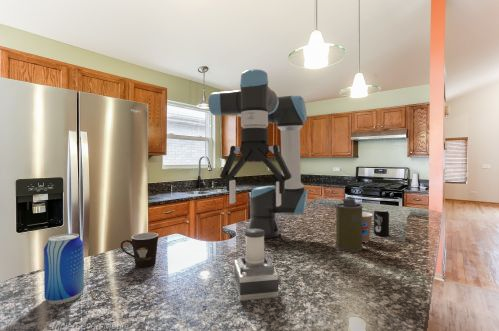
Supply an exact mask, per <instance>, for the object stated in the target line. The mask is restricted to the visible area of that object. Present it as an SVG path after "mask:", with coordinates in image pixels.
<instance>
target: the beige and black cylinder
mask: <svg viewBox="0 0 499 331" xmlns="http://www.w3.org/2000/svg"><path fill="white" fill-rule="evenodd" d="M244 236H245V256H246V258H245V262H246V267H256V266H264V255H265V238H264V230H262V229H248V228H247V229H246V230H245V231H244Z"/></svg>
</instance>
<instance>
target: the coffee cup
mask: <svg viewBox="0 0 499 331" xmlns="http://www.w3.org/2000/svg"><path fill="white" fill-rule="evenodd" d="M373 217H374V213H370V212H367V211H362V242H365V243H368V242H369V240H370V237H371V236H370V234H371V227H372V219H373Z"/></svg>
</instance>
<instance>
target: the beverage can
mask: <svg viewBox="0 0 499 331" xmlns="http://www.w3.org/2000/svg"><path fill="white" fill-rule="evenodd" d="M373 234H374V235H375V236H377V235H378V236H377V237H383V236H384V237H388V236H389V235H390V213H389V210H388V209H385V208H375V209H374V211H373Z"/></svg>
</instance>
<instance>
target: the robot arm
mask: <svg viewBox="0 0 499 331" xmlns="http://www.w3.org/2000/svg"><path fill="white" fill-rule="evenodd" d="M268 77H269V76H268V73H267V72H266V71H265V70H262V69H256V68H255V69H248V70H245V71H243V72H242V73H241V74H240V84H239V87H240V90H230V91H229V90H228V91H218V92H212V93H210V95H209V97H208V101H207V103H208V108H209V109H208V110H209V111H210V113H211V115H213V116H219V117H221V116H231V117H232V116H233V117H234V116H235V117H239V118H240V126H241V130H240V143H241V144H240V146H236V145H231V146H230V148H229V154H228V157H227V159H226V161H225V163H224V165H223V168H222V169H221V173H220V175H219V178H220V179H224V180H225V181H226V192H228V193H229V198H228V200H229V201H228V202H229V205H230V204H231V205H232V204H235V203H236V201H237V200H236V195H237V194H236V190H237V188H236V179H234V178H235V177H236V175H237V174H238V173H239V171H240V170H241V169H242V168H243V167H244V165H245V164H246V163H247V162H250V163H252V162H258V163H259V162H260V163H261V162H263V163H264V164H265V166H267V168H268V169H269V170H270V172H271V173H272V174H273V175H274V177H275V178H276V179H277V181H276V182H275V185H265V186H264V185H263V186H259V187H254V188H253V189H252V190H251V200H250V201H251V205H250V206H251V212H250V213H251V219H250V222H249V225H248V227H247V230H248V229H262V230H264V239H272V238H276V237H278V236H279V235H280V229H279V228H280V227H279V226H278V222H277V218H276V214H280V215H293V216H296V215H297V216H301V215H303V214H304V213H305V212H306V209H307V208H306V207H307V203H308V193H309V192H308V190H307V189H305V185H304V184H303V182H302V180H301V179H302V177H301V129H302V128H303V127H304V123H305V122H307V120H308V119H307V117H308V116H307V110H306V109H307V108H306V102H305V99H304V98H303V97H302V96H301V95H287V96H277V93H275V91H274V90H272V89H271V88H270V87H269V86H268V85H269V78H268ZM269 124H276V128H277V129H278V130H280V146H279V145H278V144H274V145H271V146H270V145H269V130H268V126H269ZM239 152H240V153H241V155H242V156H240V158H239V159H238V161H237V162H236V163H235V165H234V162H235V161H236V158H237V155H238V154H239ZM268 153H272V154H273V155H274V158H275V159H276V161H277V164H278V165H279V168H280V169H281V171H280V170H279V169H278V168H277V167H276V165H275V164H274V163H273V162H272V160H271V159H270V157H269V155H268ZM233 165H234V166H233ZM232 166H233V168H232Z"/></svg>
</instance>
